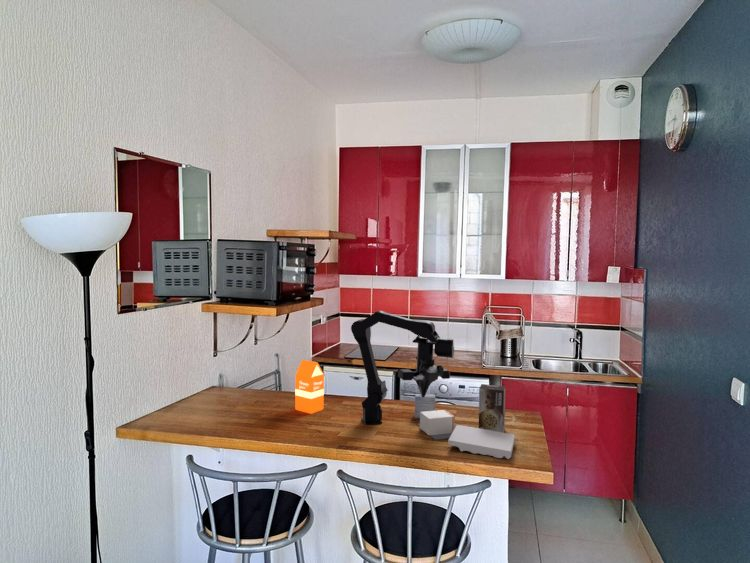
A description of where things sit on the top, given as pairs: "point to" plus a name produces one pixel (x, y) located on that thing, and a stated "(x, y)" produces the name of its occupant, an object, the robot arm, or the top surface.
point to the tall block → (437, 422)
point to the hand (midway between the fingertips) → (422, 396)
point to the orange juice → (309, 387)
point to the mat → (441, 435)
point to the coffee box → (492, 407)
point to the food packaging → (482, 441)
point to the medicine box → (424, 404)
